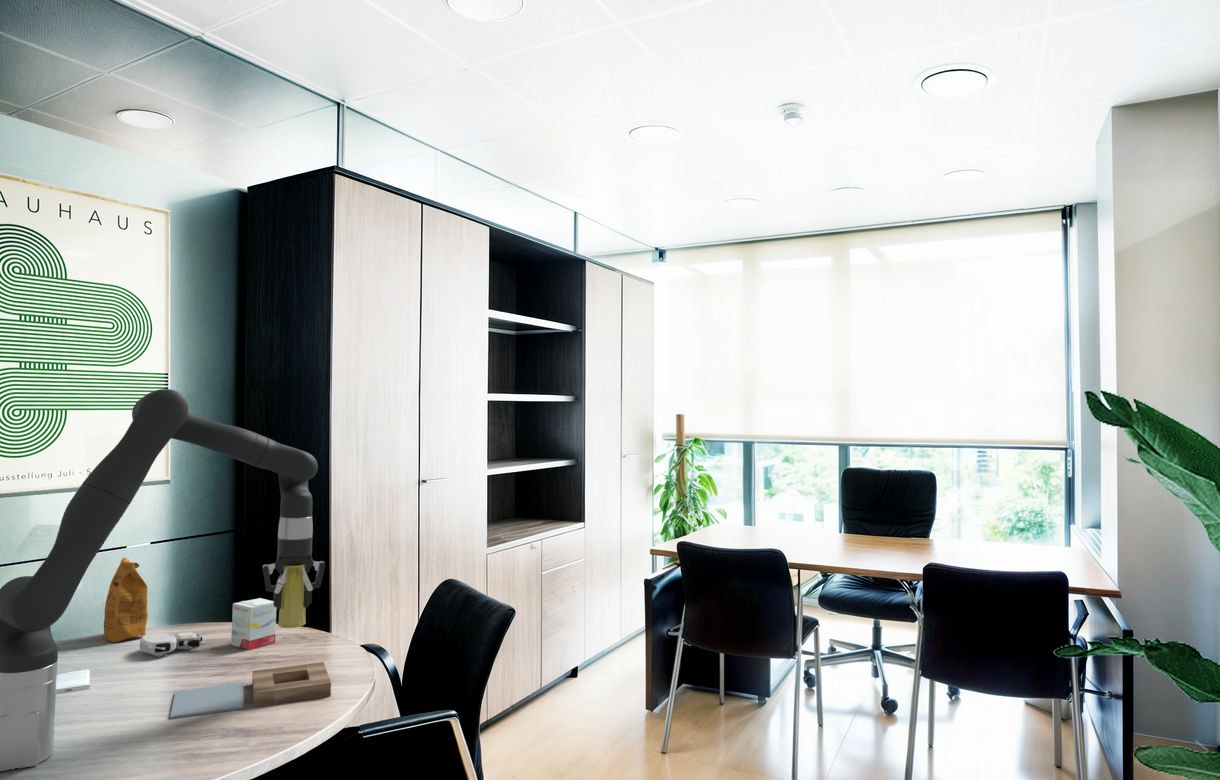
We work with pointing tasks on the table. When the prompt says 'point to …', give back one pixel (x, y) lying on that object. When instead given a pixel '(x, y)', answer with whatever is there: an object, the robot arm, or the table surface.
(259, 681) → the pocket block
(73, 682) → the hard drive
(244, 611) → the ink box
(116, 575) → the coffee package
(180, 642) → the robot toy
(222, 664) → the table surface
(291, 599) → the vase
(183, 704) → the mat
